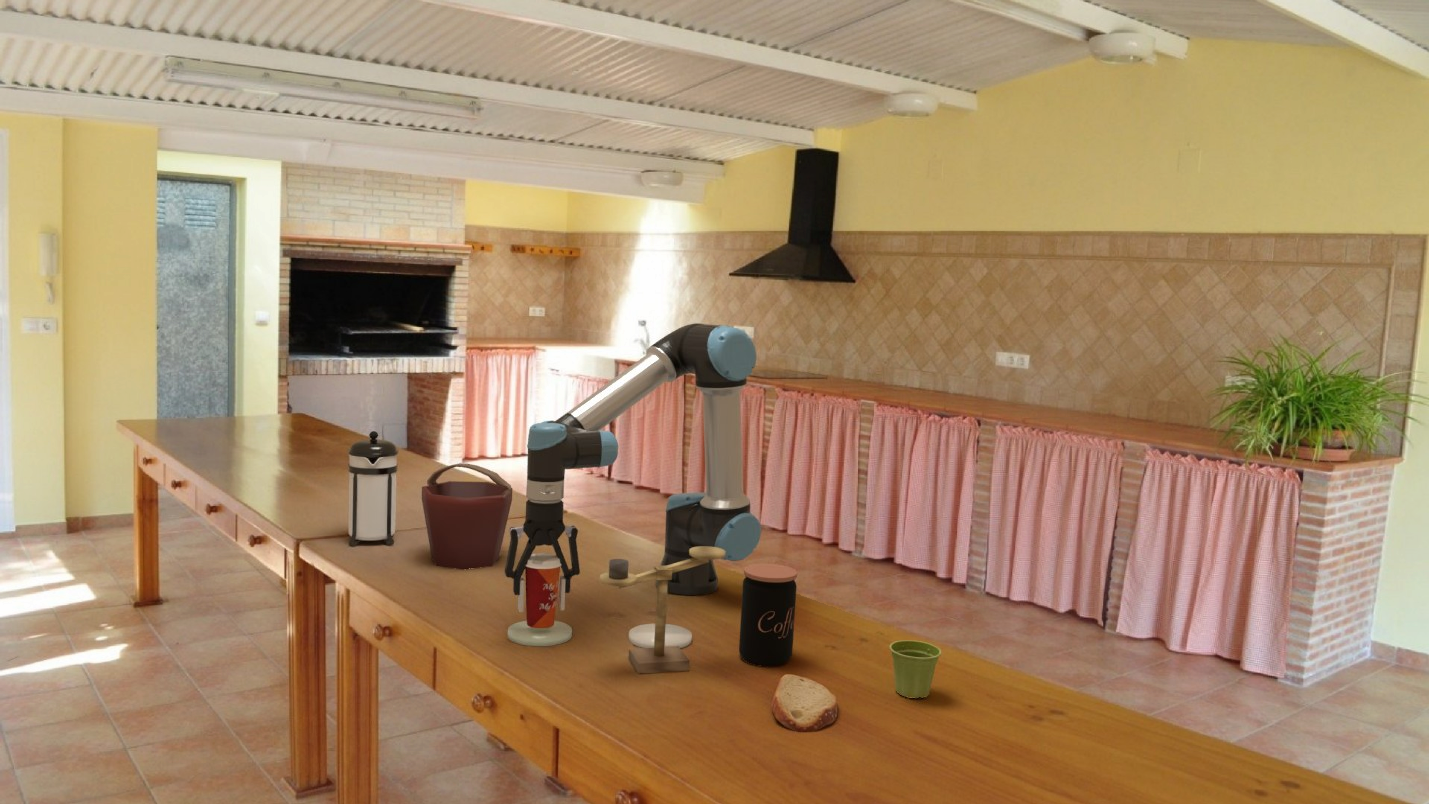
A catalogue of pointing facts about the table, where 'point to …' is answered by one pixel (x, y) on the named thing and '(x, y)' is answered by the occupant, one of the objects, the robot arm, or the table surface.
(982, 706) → the table surface
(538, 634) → the sage dish
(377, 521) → the coffee press
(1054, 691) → the table surface
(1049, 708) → the table surface
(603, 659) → the table surface
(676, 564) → the balance
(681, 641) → the white dish
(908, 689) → the plant pot
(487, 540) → the bucket
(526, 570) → the paper cup
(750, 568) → the coffee jar
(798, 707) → the bread slice
